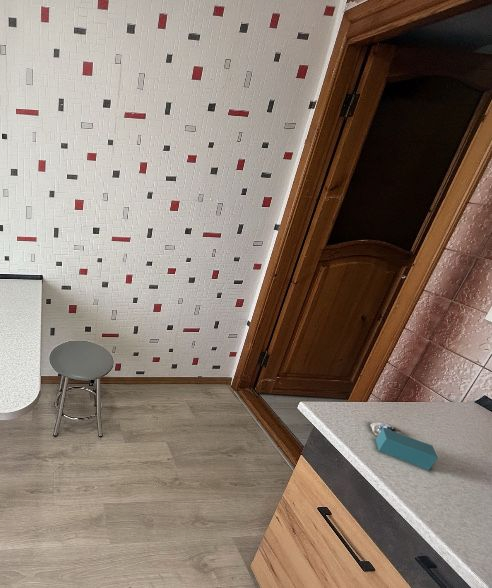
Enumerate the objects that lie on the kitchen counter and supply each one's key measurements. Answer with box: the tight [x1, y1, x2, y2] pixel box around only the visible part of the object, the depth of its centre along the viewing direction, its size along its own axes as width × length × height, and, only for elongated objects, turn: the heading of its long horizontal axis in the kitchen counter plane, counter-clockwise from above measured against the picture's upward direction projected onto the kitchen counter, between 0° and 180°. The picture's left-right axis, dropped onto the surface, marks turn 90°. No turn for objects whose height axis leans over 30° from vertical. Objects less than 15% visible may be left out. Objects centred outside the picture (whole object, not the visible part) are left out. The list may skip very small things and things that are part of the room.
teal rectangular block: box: [375, 428, 439, 471], centre depth 85 cm, size 10×4×4 cm, turn 58°
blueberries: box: [370, 421, 402, 437], centre depth 93 cm, size 7×8×2 cm
